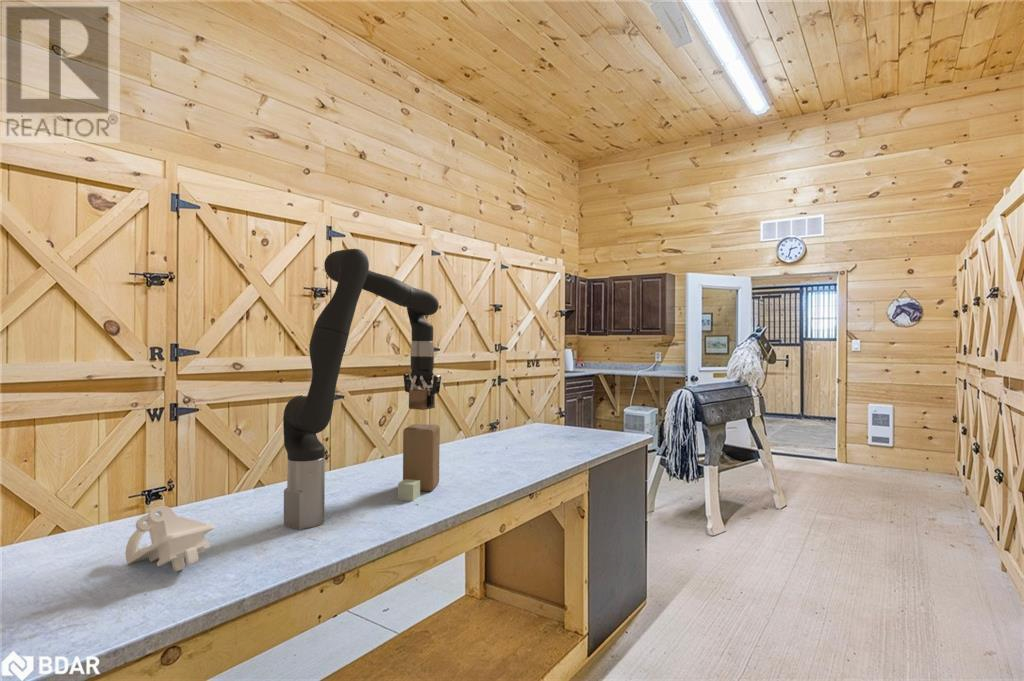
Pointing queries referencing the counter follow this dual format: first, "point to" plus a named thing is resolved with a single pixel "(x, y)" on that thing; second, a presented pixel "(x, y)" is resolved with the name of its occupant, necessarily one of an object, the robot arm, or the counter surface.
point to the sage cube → (409, 490)
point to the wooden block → (421, 455)
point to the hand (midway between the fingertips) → (421, 406)
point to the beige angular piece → (168, 539)
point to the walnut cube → (419, 399)
